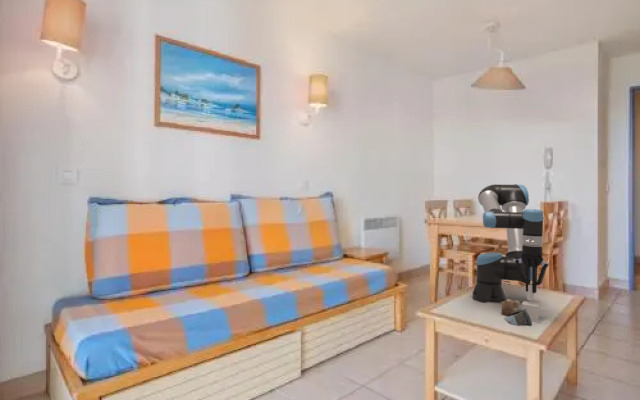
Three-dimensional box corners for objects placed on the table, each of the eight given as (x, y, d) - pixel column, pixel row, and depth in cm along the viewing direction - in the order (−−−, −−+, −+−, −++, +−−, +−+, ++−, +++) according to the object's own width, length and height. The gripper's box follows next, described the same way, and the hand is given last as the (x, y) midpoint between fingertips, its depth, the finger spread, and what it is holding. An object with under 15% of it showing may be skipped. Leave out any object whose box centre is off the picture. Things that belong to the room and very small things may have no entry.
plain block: (521, 317, 159) (521, 303, 158) (523, 314, 163) (523, 300, 163) (537, 320, 155) (538, 306, 155) (539, 316, 160) (539, 303, 160)
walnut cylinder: (499, 315, 163) (500, 302, 162) (503, 313, 166) (503, 300, 165) (510, 318, 159) (510, 304, 159) (514, 316, 162) (514, 302, 162)
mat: (513, 318, 159) (513, 317, 159) (521, 313, 166) (521, 311, 166) (539, 324, 152) (539, 323, 152) (547, 319, 159) (547, 317, 159)
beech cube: (506, 312, 167) (506, 301, 167) (506, 309, 172) (507, 299, 171) (518, 314, 165) (519, 303, 165) (518, 311, 169) (519, 300, 169)
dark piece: (496, 319, 160) (505, 306, 151) (509, 313, 161) (519, 300, 153) (511, 339, 154) (521, 327, 145) (525, 333, 155) (536, 321, 146)
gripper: (512, 244, 161) (511, 298, 161) (546, 248, 151) (545, 305, 152) (518, 242, 166) (517, 294, 167) (552, 246, 156) (550, 301, 157)
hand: (530, 299), depth 159 cm, fingers closed
